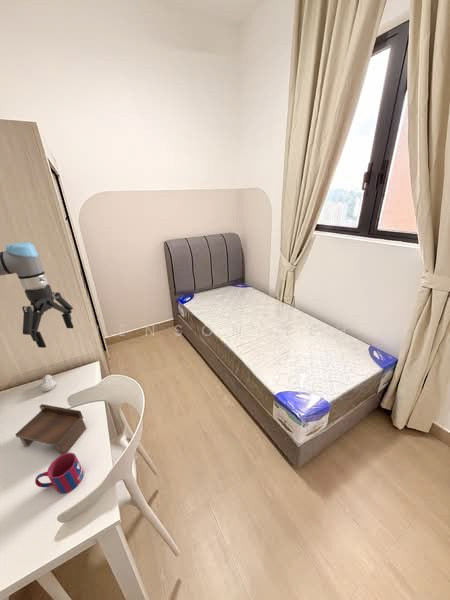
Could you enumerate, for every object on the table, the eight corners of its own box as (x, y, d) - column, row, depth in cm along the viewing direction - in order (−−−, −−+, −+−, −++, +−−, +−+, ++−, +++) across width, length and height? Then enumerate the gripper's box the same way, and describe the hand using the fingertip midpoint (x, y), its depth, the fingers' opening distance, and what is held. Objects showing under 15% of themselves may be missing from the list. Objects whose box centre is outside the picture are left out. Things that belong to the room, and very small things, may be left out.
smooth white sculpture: (54, 393, 99) (39, 394, 96) (57, 380, 105) (43, 381, 103) (54, 384, 97) (39, 386, 95) (57, 372, 104) (43, 373, 101)
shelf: (22, 447, 76) (12, 430, 73) (50, 420, 85) (41, 404, 82) (63, 456, 73) (54, 439, 69) (87, 427, 81) (80, 410, 78)
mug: (80, 488, 64) (72, 473, 61) (38, 502, 62) (27, 487, 59) (85, 464, 70) (78, 449, 67) (47, 476, 68) (38, 461, 65)
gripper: (11, 301, 73) (37, 357, 82) (72, 275, 95) (87, 321, 104) (-9, 301, 74) (19, 355, 83) (56, 275, 97) (72, 320, 105)
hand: (57, 336), depth 94 cm, fingers open, 13 cm apart
